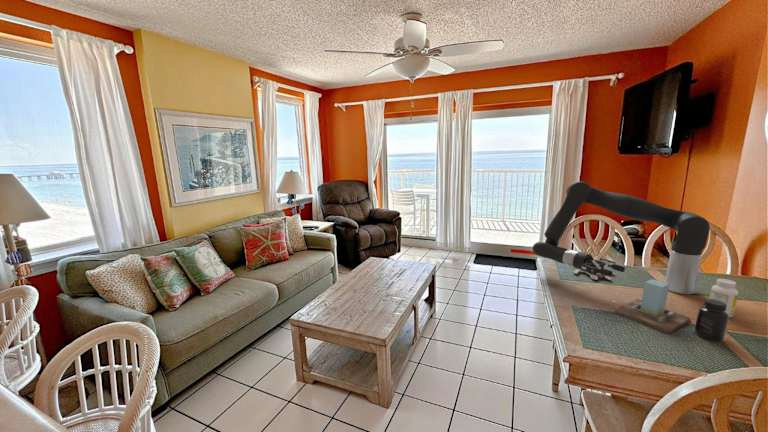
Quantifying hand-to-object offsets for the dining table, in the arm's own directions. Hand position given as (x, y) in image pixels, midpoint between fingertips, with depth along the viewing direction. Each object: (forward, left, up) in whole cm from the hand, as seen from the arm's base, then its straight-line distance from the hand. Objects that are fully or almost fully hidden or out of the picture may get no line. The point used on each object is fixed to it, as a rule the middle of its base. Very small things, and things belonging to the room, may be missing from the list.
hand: (618, 271), depth 121 cm
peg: (-8, +10, -12) cm, 17 cm away
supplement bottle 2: (-19, +20, -13) cm, 30 cm away
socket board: (-8, +10, -13) cm, 18 cm away
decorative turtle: (-3, -28, -14) cm, 32 cm away
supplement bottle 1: (-33, +3, -13) cm, 36 cm away
